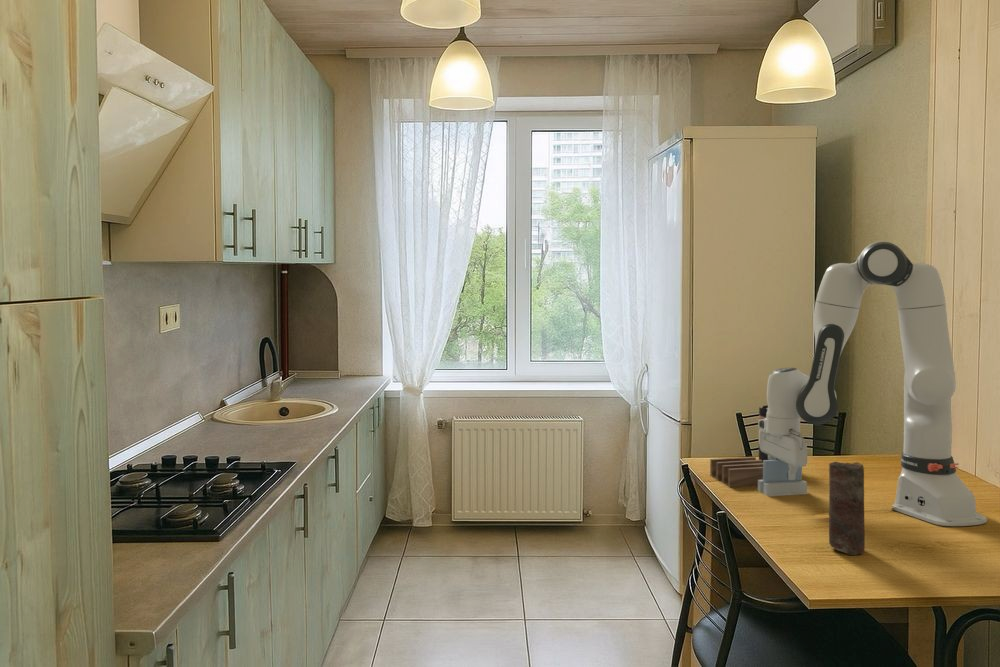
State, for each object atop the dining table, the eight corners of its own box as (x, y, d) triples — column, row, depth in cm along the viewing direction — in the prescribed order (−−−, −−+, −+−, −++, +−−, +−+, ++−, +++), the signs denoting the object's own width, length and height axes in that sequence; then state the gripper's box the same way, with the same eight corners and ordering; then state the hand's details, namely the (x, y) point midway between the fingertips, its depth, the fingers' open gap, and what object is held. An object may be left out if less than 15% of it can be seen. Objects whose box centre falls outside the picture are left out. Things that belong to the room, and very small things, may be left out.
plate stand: (808, 497, 223) (808, 482, 223) (768, 499, 221) (768, 485, 221) (795, 490, 230) (795, 476, 230) (755, 492, 228) (756, 478, 228)
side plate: (801, 490, 226) (802, 459, 225) (764, 493, 224) (765, 461, 223) (799, 489, 227) (799, 458, 226) (762, 492, 225) (762, 460, 224)
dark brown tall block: (822, 549, 182) (823, 462, 180) (836, 541, 187) (837, 456, 186) (856, 558, 177) (858, 468, 175) (869, 549, 182) (871, 462, 180)
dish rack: (776, 487, 233) (776, 467, 232) (730, 490, 230) (730, 470, 230) (753, 475, 246) (753, 456, 246) (709, 478, 244) (709, 458, 244)
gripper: (814, 433, 214) (813, 484, 215) (775, 419, 234) (774, 465, 235) (791, 434, 213) (791, 485, 214) (755, 420, 233) (754, 467, 234)
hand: (782, 475), depth 225 cm, fingers open, 8 cm apart
